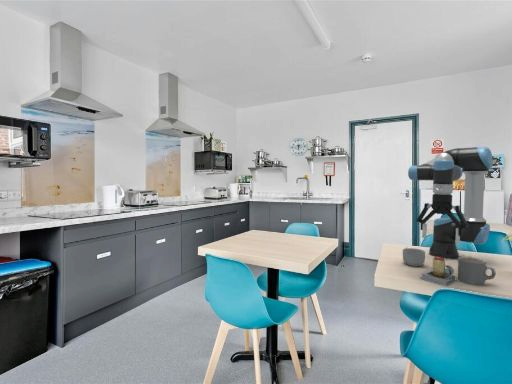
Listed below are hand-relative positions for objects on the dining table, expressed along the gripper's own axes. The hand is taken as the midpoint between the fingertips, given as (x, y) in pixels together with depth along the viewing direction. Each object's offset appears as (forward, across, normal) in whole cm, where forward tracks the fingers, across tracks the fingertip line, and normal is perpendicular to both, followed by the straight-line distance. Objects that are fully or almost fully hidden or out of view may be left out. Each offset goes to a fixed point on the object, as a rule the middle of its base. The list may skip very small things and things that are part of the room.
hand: (440, 240), depth 129 cm
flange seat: (+19, 0, +3) cm, 19 cm away
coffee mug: (+19, +11, +11) cm, 24 cm away
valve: (+18, 0, 0) cm, 18 cm away
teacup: (+19, -19, +16) cm, 31 cm away
